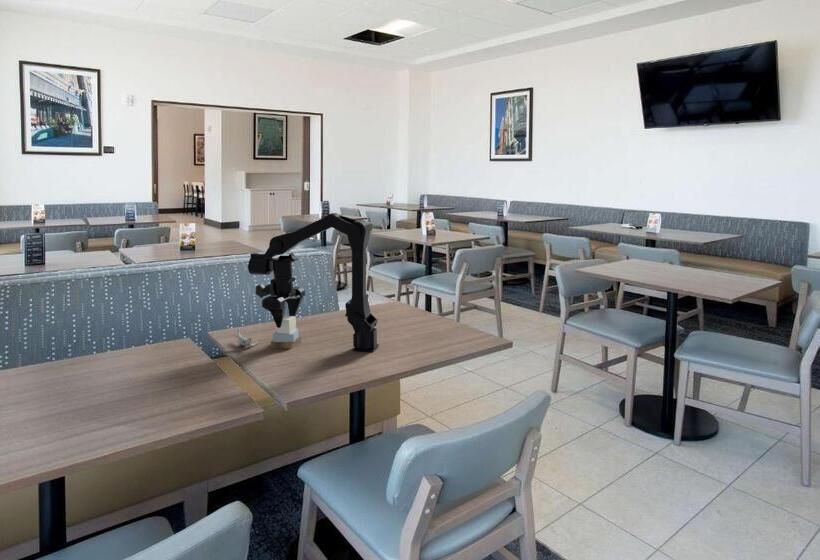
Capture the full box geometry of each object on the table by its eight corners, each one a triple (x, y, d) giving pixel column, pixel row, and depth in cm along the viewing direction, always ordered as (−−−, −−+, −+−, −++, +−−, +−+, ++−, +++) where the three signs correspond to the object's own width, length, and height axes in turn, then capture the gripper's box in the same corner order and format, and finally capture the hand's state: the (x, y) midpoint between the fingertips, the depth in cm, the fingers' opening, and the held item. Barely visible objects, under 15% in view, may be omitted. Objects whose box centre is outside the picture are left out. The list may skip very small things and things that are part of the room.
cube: (296, 330, 186) (295, 316, 185) (289, 333, 182) (289, 319, 181) (283, 329, 187) (282, 315, 186) (276, 332, 183) (276, 319, 182)
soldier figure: (252, 342, 192) (265, 339, 182) (244, 354, 190) (256, 352, 180) (233, 328, 189) (245, 324, 179) (224, 340, 187) (235, 337, 177)
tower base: (301, 344, 188) (300, 336, 187) (291, 350, 181) (291, 342, 181) (281, 342, 190) (281, 335, 189) (271, 349, 183) (270, 341, 183)
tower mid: (298, 336, 188) (298, 328, 188) (293, 342, 182) (293, 334, 181) (278, 335, 188) (278, 328, 188) (273, 341, 182) (272, 334, 181)
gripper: (273, 269, 192) (276, 315, 195) (244, 279, 174) (247, 330, 177) (304, 270, 189) (306, 316, 192) (278, 281, 171) (281, 332, 174)
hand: (285, 323), depth 184 cm, fingers open, 9 cm apart
